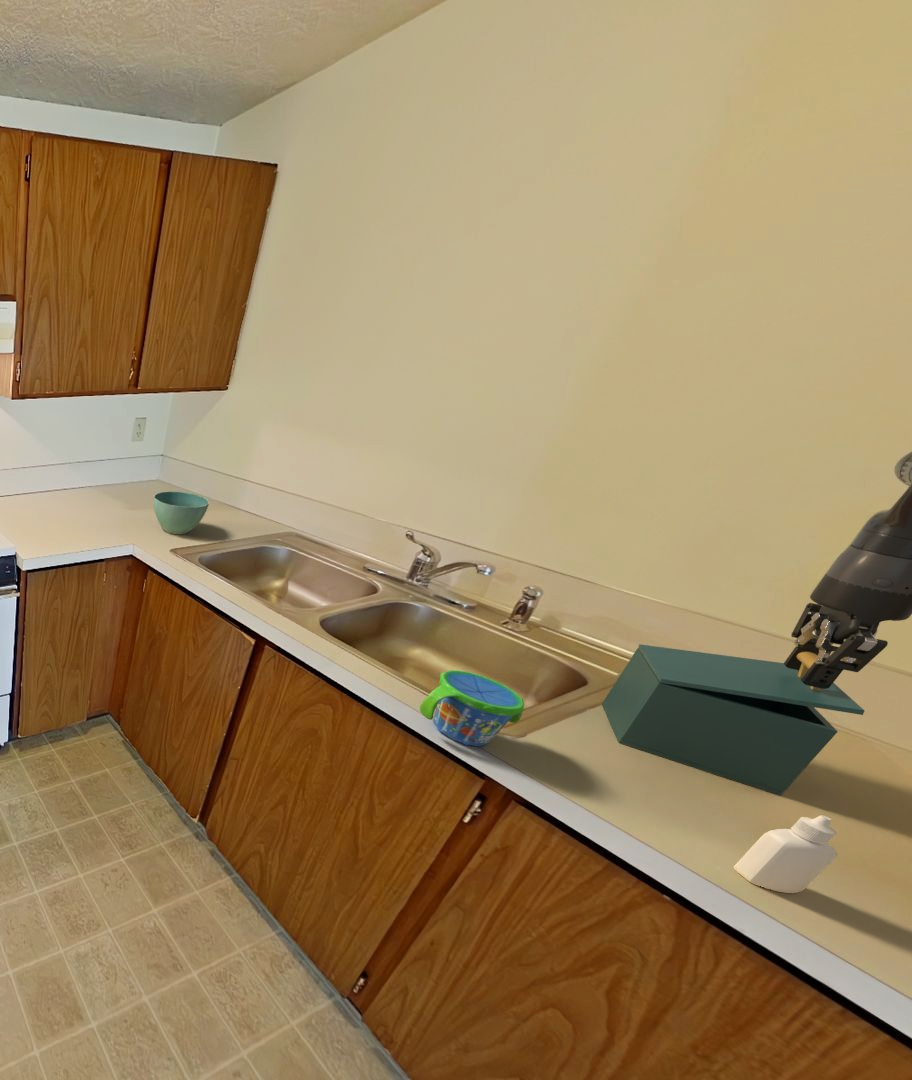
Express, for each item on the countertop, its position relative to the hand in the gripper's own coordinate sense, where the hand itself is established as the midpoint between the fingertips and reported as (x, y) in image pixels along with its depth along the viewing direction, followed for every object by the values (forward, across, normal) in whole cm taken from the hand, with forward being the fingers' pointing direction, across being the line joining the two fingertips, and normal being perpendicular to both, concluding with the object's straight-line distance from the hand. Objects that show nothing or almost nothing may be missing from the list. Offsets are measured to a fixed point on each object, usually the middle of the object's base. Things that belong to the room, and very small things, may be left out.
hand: (804, 676), depth 79 cm
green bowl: (+16, +45, +111) cm, 121 cm away
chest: (+18, 0, +6) cm, 19 cm away
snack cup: (+17, -23, +36) cm, 46 cm away
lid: (+3, 0, +5) cm, 6 cm away
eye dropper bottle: (+18, -32, +6) cm, 37 cm away
